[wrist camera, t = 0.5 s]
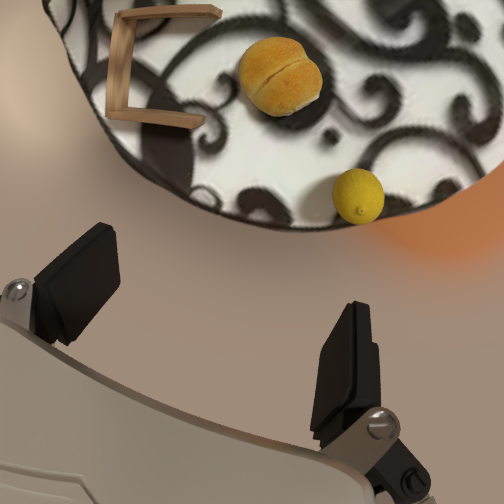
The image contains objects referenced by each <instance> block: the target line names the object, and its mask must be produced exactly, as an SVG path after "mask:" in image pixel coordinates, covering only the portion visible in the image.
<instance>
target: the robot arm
mask: <svg viewBox="0 0 504 504" xmlns="http://www.w3.org/2000/svg"><path fill="white" fill-rule="evenodd" d="M34 281H35V283H34V284H33V285H32V284H31V282H30V281H29V280H27V279H24V278H19V279H15V280H13V281H11V282H10V283H9V284H7V285H6V287H5V288H4V290H3V292H2V295H0V504H436V502H435V499H434V497H433V496H431V497H430V496H429V494H428V492H429V490H430V486H431V479H430V475H429V473H428V472H427V470H426V469H425V468H424V467H423V466H422V465H421V463H420V462H419V461H418V460H417V459H416V458H415V457H414V455H413V454H412V453H411V452H410V451H409V450H408V449H407V447H406V446H405V445H404V444H403V443H402V442H401V441H400V439H399V438H398V437H399V435H400V430H401V428H400V422H399V420H398V418H397V416H396V415H395V414H394V413H393V412H392V411H390V410H389V409H387V408H384V407H381V384H380V364H379V363H380V362H379V348H378V345H377V343H374V342H372V333H371V319H370V307H369V305H368V304H365V303H361V302H358V301H354V302H353V303H352V304H350V303H348V304H347V305H346V307H345V309H344V310H343V312H342V314H341V316H340V318H339V319H338V321H337V323H336V325H335V327H334V328H333V330H332V332H331V334H330V335H329V337H328V339H327V341H326V342H325V344H324V345H323V347H322V350H321V353H320V358H319V367H318V376H317V383H316V391H315V398H314V405H313V412H312V418H311V425H310V431H313V432H314V435H313V439H315V440H320V447H321V450H320V451H318V452H317V451H314V450H310V449H306V448H303V447H299V446H295V445H291V444H288V443H283V442H279V441H275V440H271V439H268V438H264V437H260V436H257V435H253V434H250V433H246V432H243V431H240V430H236V429H233V428H229V427H227V426H224V425H220V424H217V423H214V422H211V421H208V420H206V419H203V418H200V417H197V416H194V415H191V414H189V413H186V412H184V411H181V410H179V409H176V408H173V407H171V406H169V405H166V404H164V403H161V402H159V401H157V400H154V399H152V398H149V397H147V396H145V395H143V394H141V393H139V392H136V391H134V390H132V389H130V388H128V387H126V386H124V385H122V384H120V383H118V382H116V381H114V380H112V379H110V378H108V377H106V376H104V375H102V374H100V373H98V372H96V371H95V370H93V369H91V368H89V367H87V366H85V365H84V364H82V363H80V362H78V361H77V360H75V359H73V358H72V357H69V356H68V355H66V354H65V353H63V352H62V351H60V350H58V349H57V348H55V341H56V340H57V339H58V341H59V342H61V343H63V344H64V345H66V346H68V345H69V344H70V343H71V341H75V340H76V339H77V337H78V336H79V335H80V334H81V333H82V331H83V330H84V329H85V327H86V326H87V325H88V324H89V322H90V321H91V320H92V319H93V318H94V316H95V315H96V314H97V313H98V311H99V310H100V309H101V308H102V306H103V305H104V304H105V303H106V302H107V301H108V299H109V298H110V297H111V296H112V295H113V294H114V292H115V291H116V290H117V289H118V287H119V285H120V272H119V263H118V253H117V242H116V232H115V231H114V230H113V227H112V226H111V225H108V224H105V223H102V222H99V223H97V224H96V225H95V226H94V227H92V228H91V229H90V230H88V231H87V232H86V233H85V234H84V235H82V236H81V237H80V238H79V239H78V240H76V241H75V242H74V243H73V244H71V245H70V246H69V247H68V248H67V249H66V250H64V251H63V252H62V253H61V254H60V255H59V256H58V257H56V258H55V259H54V260H53V261H52V262H51V263H50V264H49V265H48V266H46V267H45V268H44V269H43V270H42V271H41V272H40V273H39V274H38V275H37V276H36V277H34Z"/></svg>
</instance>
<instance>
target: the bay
mask: <svg viewBox="0 0 504 504" xmlns="http://www.w3.org/2000/svg"><path fill="white" fill-rule="evenodd" d="M221 16H222V10H221V9H219V8H217V7H215V6H213V5H211V4H188V5H166V6H153V7H143V8H135V9H127V10H121V11H119V12H118V13H115V17H114V24H113V30H112V37H111V45H110V54H109V63H108V75H107V89H106V110H105V117H108V119H115V120H127V121H137V122H146V123H154V124H162V125H170V126H177V127H183V128H190V129H193V128H195V127H198V126H200V125H202V124H205V116H204V115H197V114H190V113H182V112H174V111H166V110H156V109H145V108H133V107H128V95H129V82H130V71H131V62H132V53H133V45H134V38H135V31H136V25H137V20H142V19H155V18H176V17H208V18H221Z"/></svg>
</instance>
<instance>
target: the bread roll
mask: <svg viewBox="0 0 504 504" xmlns="http://www.w3.org/2000/svg"><path fill="white" fill-rule="evenodd" d="M239 79H240V85H241V88H242V90H243V92H244V93H245V95H246V96H247V97H248V98H249V99H250V100H251V101H252V103H253V104H254V105H255V106H256V107H257V108H259V109H260V110H262V111H263V112H265V113H267V114H269V115H271V116H289V115H290V114H292V113H294V112H296V111H298V110H300V109H302V108H303V107H304V106H307V105H308V104H310V102H312V101H314V100H316V99H317V98H319V93H320V90H321V87H322V77H321V74H320V71H319V69H318V67H317V66H316V64H315V63H313V62H312V61H311V60H309V58H308V57H307V56H306V54H305V51H304V49H303V47H302V46H301V45H300V44H299V43H298V42H296V41H294V40H292V39H289V38H283V37H271V38H267V39H263V40H260V41H258V42H256V43H254V44H253V45H252V46H250V47H249V48H248V49H247V50H246V52H245V53H244V55H243V57H242V59H241V62H240V66H239Z"/></svg>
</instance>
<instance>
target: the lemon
mask: <svg viewBox="0 0 504 504" xmlns="http://www.w3.org/2000/svg"><path fill="white" fill-rule="evenodd" d="M333 201H334V205H335V207H336V209H337V211H338V212H339V214H340V215H341V216H342V217H343V218H344V219H345V220H346V221H348V222H350V223H353V224H357V225H363V224H367V223H370V222H372V221H373V220H375V219H376V218H377V217H378V215H379V214H380V213H381V211H382V208H383V205H384V192H383V188H382V186H381V183H380V181H379V180H378V179H377V178H376V177H375V175H373V174H372V173H370V172H369V171H366V170H364V169H350V170H348V171H346V172H344V173H343V174H342V175H340V177H339V178H338V179H337V180H336V183H335V185H334V188H333Z"/></svg>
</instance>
